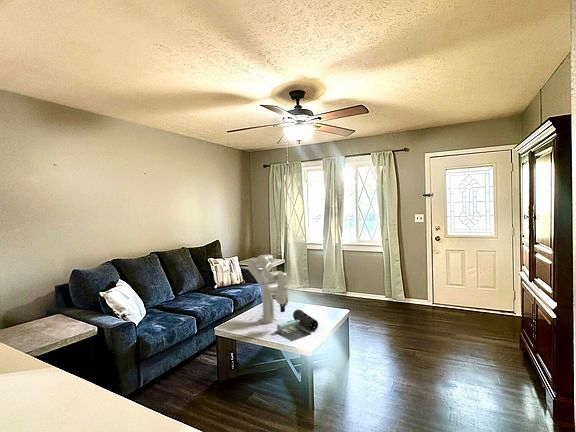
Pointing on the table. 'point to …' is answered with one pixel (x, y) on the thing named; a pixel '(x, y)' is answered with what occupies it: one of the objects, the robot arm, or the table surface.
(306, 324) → the muzzle brake
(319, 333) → the table surface
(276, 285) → the robot arm
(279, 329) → the swing arm
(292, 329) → the dark grey mat
